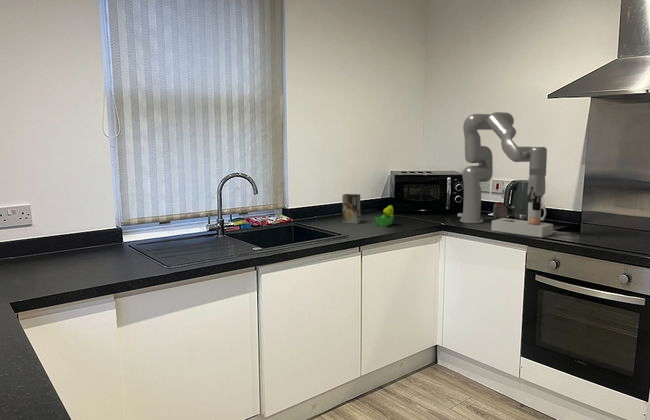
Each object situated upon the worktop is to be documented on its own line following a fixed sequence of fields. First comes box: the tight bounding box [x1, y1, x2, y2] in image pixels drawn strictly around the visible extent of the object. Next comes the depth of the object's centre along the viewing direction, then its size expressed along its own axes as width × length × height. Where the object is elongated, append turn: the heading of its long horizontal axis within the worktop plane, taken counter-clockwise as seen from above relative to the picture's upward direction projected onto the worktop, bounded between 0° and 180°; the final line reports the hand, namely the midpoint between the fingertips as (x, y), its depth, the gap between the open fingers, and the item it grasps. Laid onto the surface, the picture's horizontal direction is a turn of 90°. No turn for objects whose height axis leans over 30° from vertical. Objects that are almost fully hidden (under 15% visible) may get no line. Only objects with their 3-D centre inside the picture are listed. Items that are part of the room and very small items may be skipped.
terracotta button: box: [529, 217, 541, 225], centre depth 242 cm, size 5×5×5 cm
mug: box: [527, 201, 547, 221], centre depth 267 cm, size 10×7×12 cm, turn 37°
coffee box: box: [341, 193, 361, 225], centre depth 278 cm, size 9×6×16 cm
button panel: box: [490, 217, 554, 238], centre depth 247 cm, size 26×12×5 cm, turn 43°
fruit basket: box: [374, 204, 395, 228], centre depth 269 cm, size 11×9×11 cm
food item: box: [492, 201, 508, 220], centre depth 290 cm, size 14×8×10 cm, turn 169°
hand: (536, 210), depth 241 cm, fingers closed
